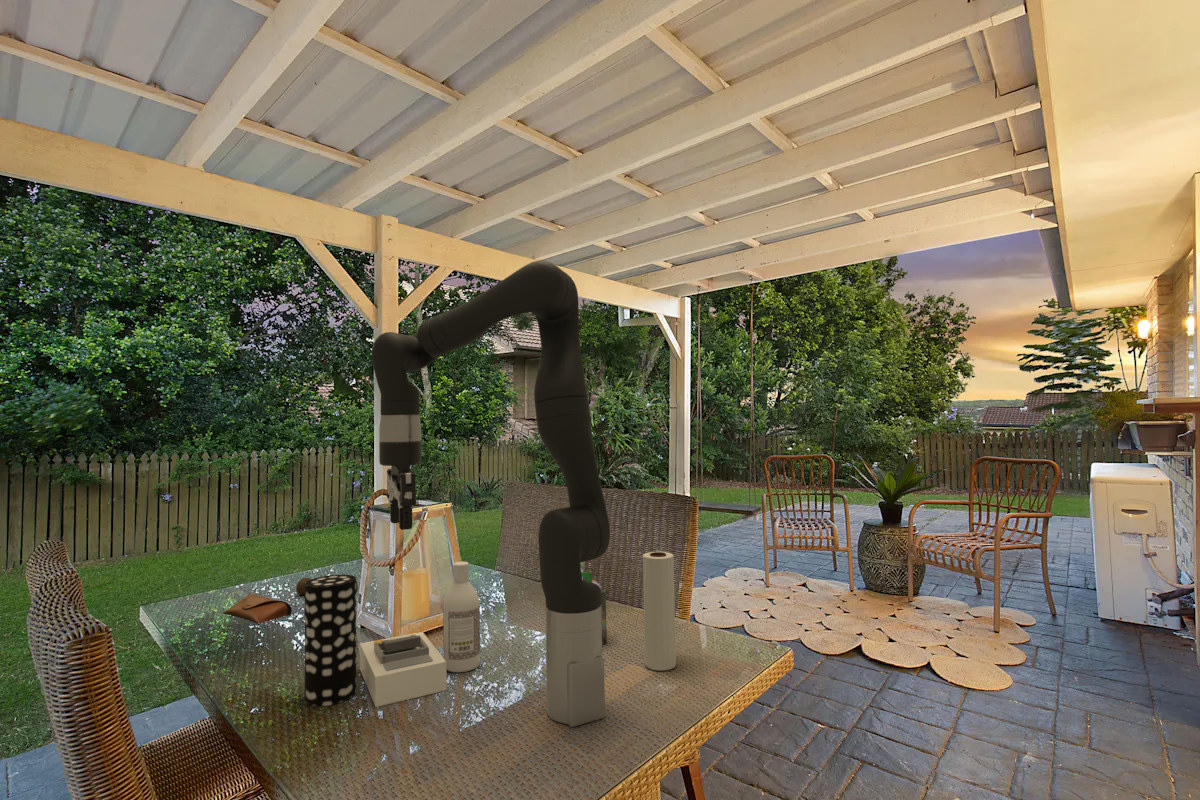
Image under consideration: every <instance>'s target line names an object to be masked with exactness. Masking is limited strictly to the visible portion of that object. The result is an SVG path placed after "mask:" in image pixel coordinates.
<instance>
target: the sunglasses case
mask: <svg viewBox="0 0 1200 800" xmlns="http://www.w3.org/2000/svg"><path fill="white" fill-rule="evenodd" d="M292 611H293V610H292V606H291V605H290V604H289V603H288V602H286V601H285V600H278V599H275V598H274V599H273V598H269V597H266V596H262V595H258V594H254V593H251V592H249V594H248V595H246V596H245V597H244V598H242V599H241V600H239V601H238V602H236V603H235V604H233V605H232V606H231V607H229V608H228V609H226V610H225V611H223V612H222V614H223V615H231V616H234V617H238V618H241V619H245V620H248V621H251V622H253V623H255V624H263V623H267V622H270V621H273V620H277V619H280V618H283V617H287V616H291V615H292Z"/></svg>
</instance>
